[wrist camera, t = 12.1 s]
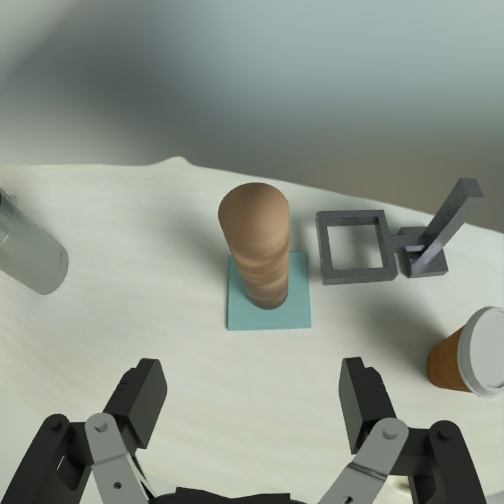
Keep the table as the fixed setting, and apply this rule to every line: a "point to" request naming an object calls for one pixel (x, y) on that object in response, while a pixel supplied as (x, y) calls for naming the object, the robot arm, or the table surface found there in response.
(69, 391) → the table surface
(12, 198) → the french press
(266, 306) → the walnut rod
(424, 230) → the ring stand
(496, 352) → the disposable coffee cup
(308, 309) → the felt coaster
